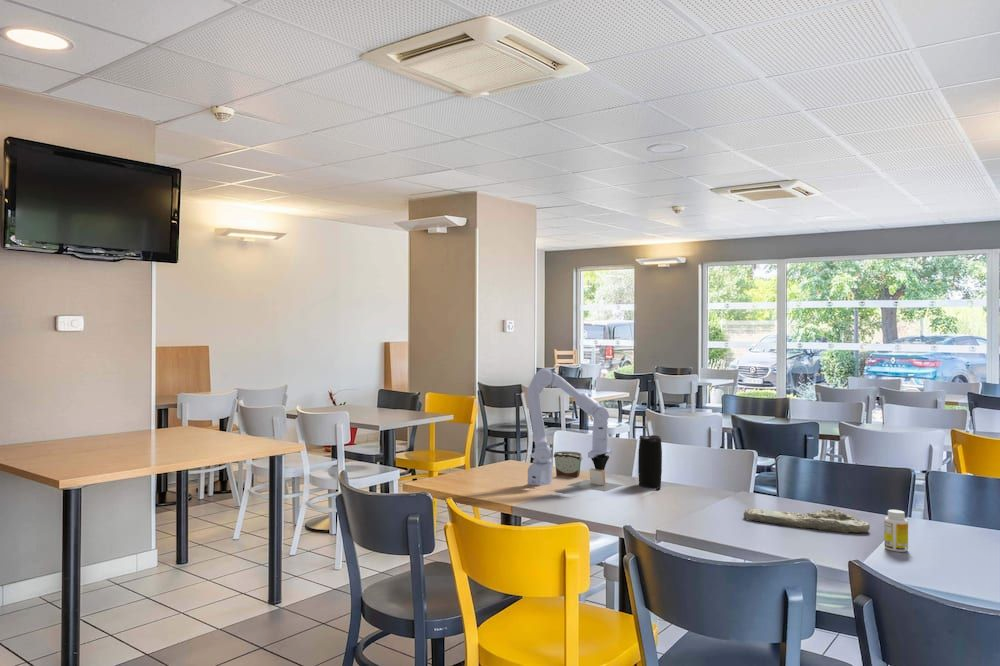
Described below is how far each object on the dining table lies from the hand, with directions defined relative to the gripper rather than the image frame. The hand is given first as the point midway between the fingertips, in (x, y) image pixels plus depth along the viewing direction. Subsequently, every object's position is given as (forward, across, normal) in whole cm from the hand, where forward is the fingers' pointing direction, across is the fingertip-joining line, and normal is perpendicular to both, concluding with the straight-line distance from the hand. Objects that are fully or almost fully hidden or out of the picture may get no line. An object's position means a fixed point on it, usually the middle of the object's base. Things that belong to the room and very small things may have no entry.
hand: (599, 474), depth 267 cm
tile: (+3, -1, 0) cm, 4 cm away
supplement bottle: (+5, -19, -101) cm, 103 cm away
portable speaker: (+5, +9, -16) cm, 19 cm away
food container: (+5, +8, +18) cm, 20 cm away
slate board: (+5, -3, 0) cm, 6 cm away
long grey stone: (+5, -8, -75) cm, 76 cm away
